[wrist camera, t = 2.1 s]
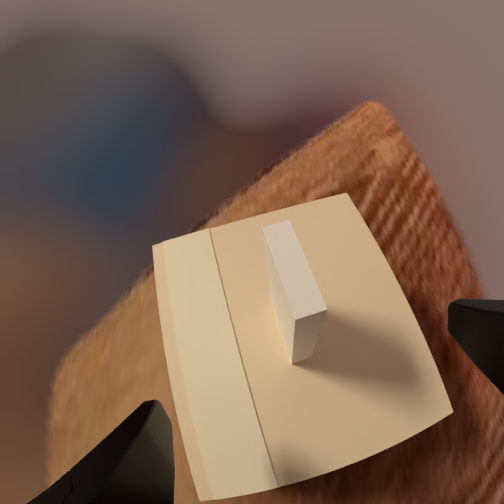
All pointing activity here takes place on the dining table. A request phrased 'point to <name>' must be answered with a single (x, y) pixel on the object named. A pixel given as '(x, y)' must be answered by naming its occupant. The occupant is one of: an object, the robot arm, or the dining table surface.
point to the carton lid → (290, 348)
